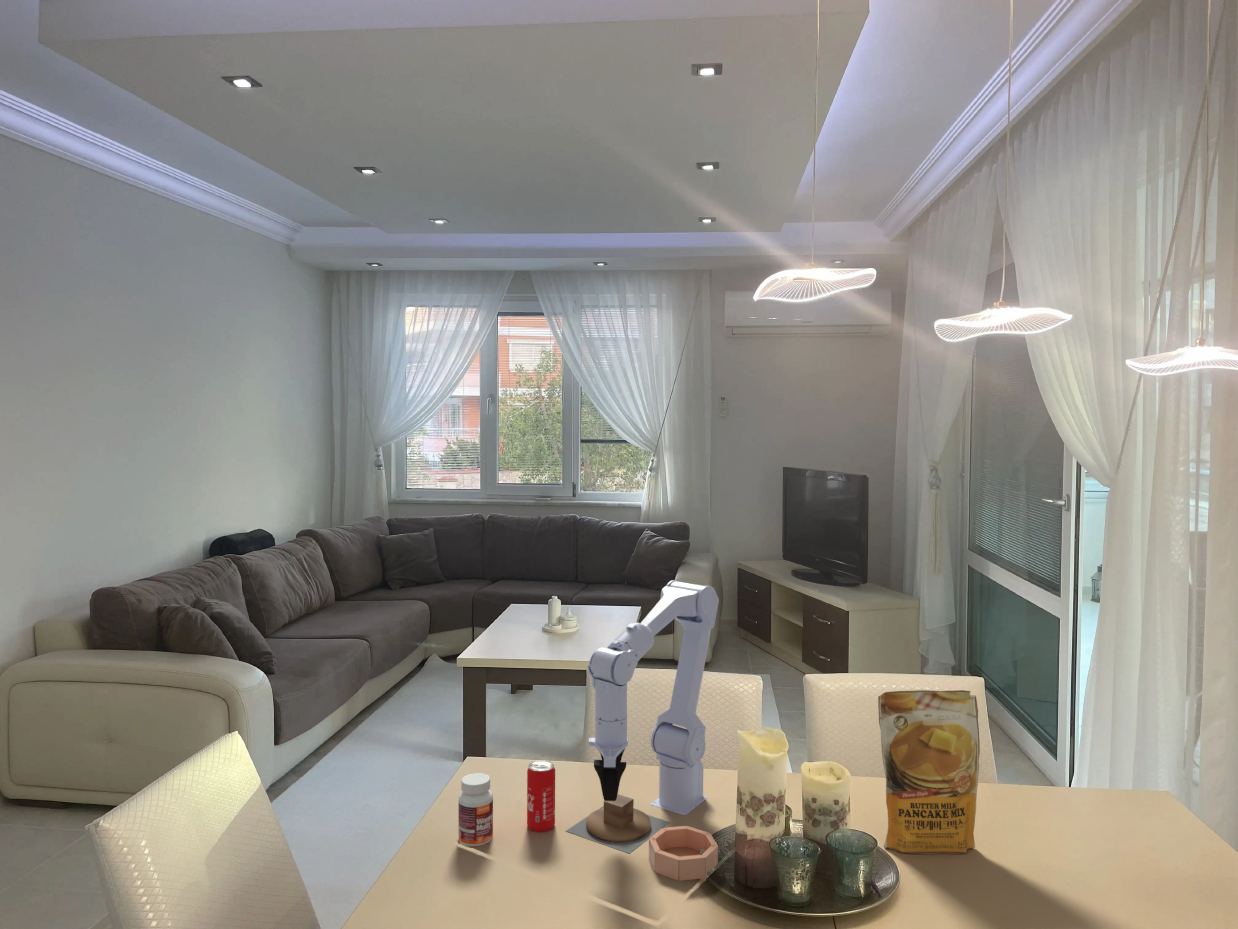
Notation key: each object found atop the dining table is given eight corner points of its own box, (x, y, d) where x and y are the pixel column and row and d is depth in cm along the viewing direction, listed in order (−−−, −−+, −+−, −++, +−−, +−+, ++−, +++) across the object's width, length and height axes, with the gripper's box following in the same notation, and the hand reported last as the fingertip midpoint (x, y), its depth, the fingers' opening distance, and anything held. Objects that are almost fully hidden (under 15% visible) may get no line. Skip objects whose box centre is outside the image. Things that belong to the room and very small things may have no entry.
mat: (608, 805, 163) (608, 802, 163) (669, 825, 156) (669, 822, 156) (565, 834, 152) (565, 831, 152) (629, 857, 144) (629, 853, 144)
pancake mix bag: (868, 836, 152) (872, 686, 151) (971, 836, 152) (976, 687, 151) (880, 855, 146) (884, 698, 144) (988, 855, 146) (993, 699, 144)
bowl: (671, 842, 149) (671, 820, 149) (726, 860, 143) (726, 838, 143) (638, 869, 140) (638, 846, 140) (695, 890, 134) (696, 866, 134)
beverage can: (550, 837, 151) (550, 772, 150) (523, 834, 152) (523, 770, 151) (558, 823, 156) (558, 761, 155) (531, 820, 157) (532, 758, 156)
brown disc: (610, 805, 162) (610, 780, 162) (662, 822, 155) (662, 796, 155) (573, 830, 152) (573, 803, 152) (627, 849, 145) (628, 821, 145)
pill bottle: (481, 851, 145) (481, 788, 145) (451, 844, 148) (451, 782, 147) (499, 836, 151) (499, 775, 150) (470, 829, 153) (470, 769, 153)
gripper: (590, 701, 155) (590, 772, 155) (586, 730, 140) (586, 809, 141) (628, 702, 155) (628, 773, 155) (627, 731, 140) (627, 809, 141)
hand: (610, 790), depth 148 cm, fingers open, 7 cm apart
